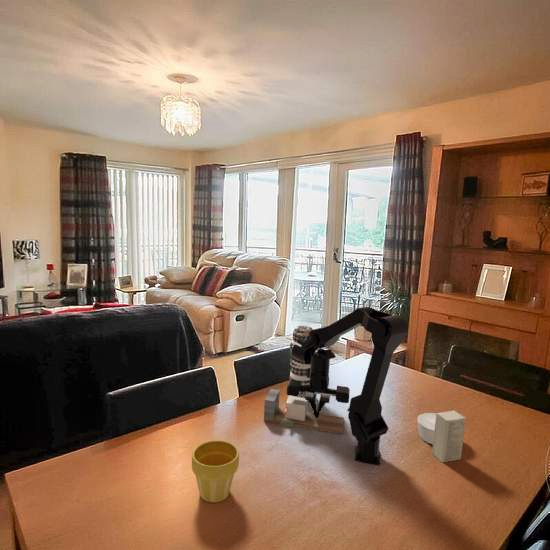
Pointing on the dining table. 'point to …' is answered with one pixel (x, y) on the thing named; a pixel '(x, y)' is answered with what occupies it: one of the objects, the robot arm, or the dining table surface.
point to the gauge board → (321, 423)
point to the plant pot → (215, 468)
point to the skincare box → (448, 436)
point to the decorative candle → (298, 366)
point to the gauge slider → (296, 408)
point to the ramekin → (427, 426)
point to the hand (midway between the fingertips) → (316, 417)
